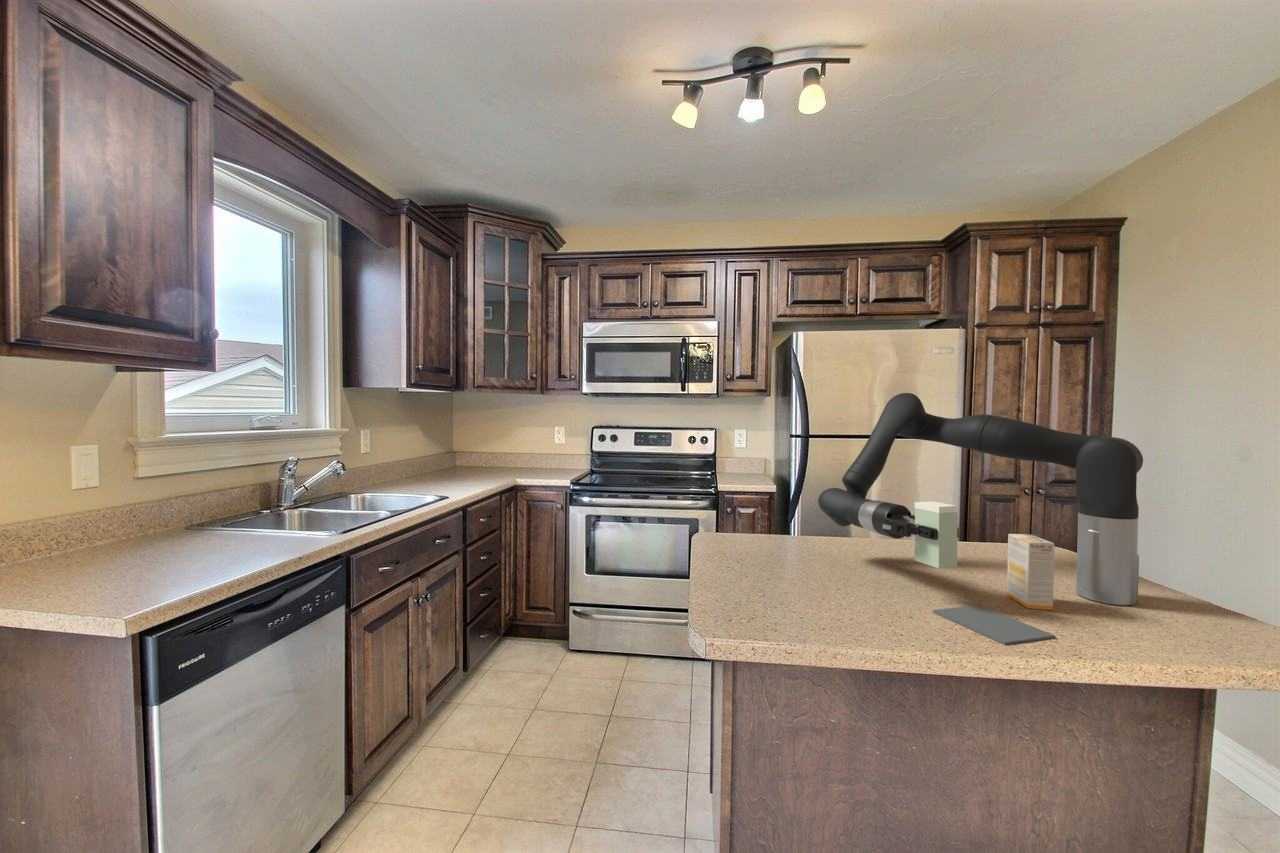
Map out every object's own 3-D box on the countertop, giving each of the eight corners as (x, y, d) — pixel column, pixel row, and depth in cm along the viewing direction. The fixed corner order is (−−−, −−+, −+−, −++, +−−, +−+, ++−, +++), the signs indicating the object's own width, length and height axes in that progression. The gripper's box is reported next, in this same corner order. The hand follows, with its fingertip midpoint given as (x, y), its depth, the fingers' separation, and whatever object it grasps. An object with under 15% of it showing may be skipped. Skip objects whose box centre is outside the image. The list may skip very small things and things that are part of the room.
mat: (978, 606, 101) (978, 604, 101) (1055, 637, 87) (1055, 635, 87) (932, 612, 98) (932, 610, 98) (1004, 644, 84) (1004, 642, 84)
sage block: (932, 558, 108) (932, 501, 108) (957, 566, 102) (957, 505, 102) (914, 560, 107) (914, 502, 107) (938, 568, 101) (939, 506, 101)
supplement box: (1054, 611, 100) (1056, 543, 99) (1026, 608, 101) (1028, 541, 100) (1031, 596, 108) (1033, 533, 107) (1005, 594, 109) (1007, 532, 108)
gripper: (857, 503, 116) (917, 516, 100) (909, 500, 120) (975, 513, 104) (857, 536, 116) (917, 555, 100) (909, 532, 120) (975, 550, 104)
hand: (946, 533), depth 102 cm, fingers closed on sage block, 4 cm apart
